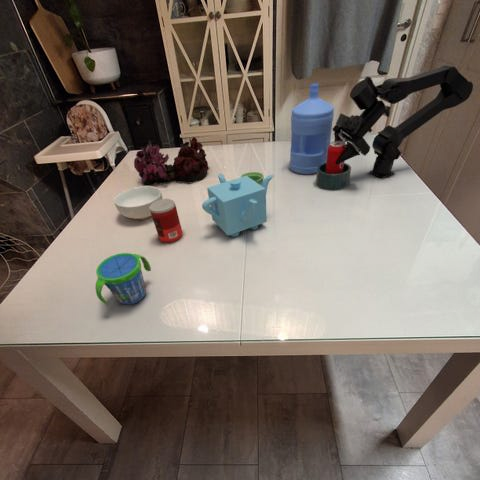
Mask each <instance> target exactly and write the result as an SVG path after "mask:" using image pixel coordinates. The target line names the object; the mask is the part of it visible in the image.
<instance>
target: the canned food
mask: <svg viewBox="0 0 480 480" xmlns="http://www.w3.org/2000/svg"><path fill="white" fill-rule="evenodd" d="M149 209H150V212H151V215H152V216H151V218H152V221H153V225H154V228H155V230H156V233H157V236H158V239H159V240H160V242H162V243H166V244H170V243H175V242H177V241H179V240H180V239H181V238H182V236H183V229H182V225H181V221H180V217H179V213H178V209H177V206H176V203H175V201H174V199H171V198H162V200H158V201H155V202H154V203H152V204H151V205H150V207H149Z"/></svg>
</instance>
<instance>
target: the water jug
mask: <svg viewBox="0 0 480 480" xmlns="http://www.w3.org/2000/svg"><path fill="white" fill-rule="evenodd" d="M319 86H320V83H318V82H313V83H310V84H309V96H308V98H307V99H306V100H304V101H302V102H300V103H299V104H296V105H295V106H294V107H293V108H292V110H291V116H290V131H291V135H290V136H291V137H290V139H291V140H290V149H289V150H290V152H289V153H290V155H289V168H290V170H291V171H293V172H294V173H296V174H301V175H313V174H317V167H318V166H319V165H321V164H323V163H326V162H327V153H328V147H329V145H330V143H331V142H332V141H331V140H332V139H331V138H332V129H333V121H334V116H335V115H334V114H335V107H334V105H332V104H331V103H329V102H327V101H325V100H323V99H321V98H320V97H319V90H320V89H319Z"/></svg>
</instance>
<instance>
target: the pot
mask: <svg viewBox="0 0 480 480" xmlns="http://www.w3.org/2000/svg"><path fill="white" fill-rule="evenodd" d="M326 163H327V162H326ZM326 163H323V164H321V165H319V166H318V167H317V173H316V180H315V185H316V187H318V188H319V189H322V190H325V191H339V190H342V189H344V188H346V187H348V185H349V184H350V179H351V173H352V167H351V165H350V164H348V163H346V162H344V167H343V173H340V174H328V173H325V172H326Z"/></svg>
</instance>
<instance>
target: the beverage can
mask: <svg viewBox="0 0 480 480" xmlns="http://www.w3.org/2000/svg"><path fill="white" fill-rule="evenodd" d="M345 144H346V142H343V141H335V140H334V141H330V145H329V147H328V153H327V163H326V172H325V173H328V174H340V173H343V167H344V163H345V161H344V162H342V163H340V164H338V165H337V164H336V163H335V162H336V160H337V159H338V158H339V156H340V155H341V154H342V152H343V151H344V150H345V148H346V145H345Z"/></svg>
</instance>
